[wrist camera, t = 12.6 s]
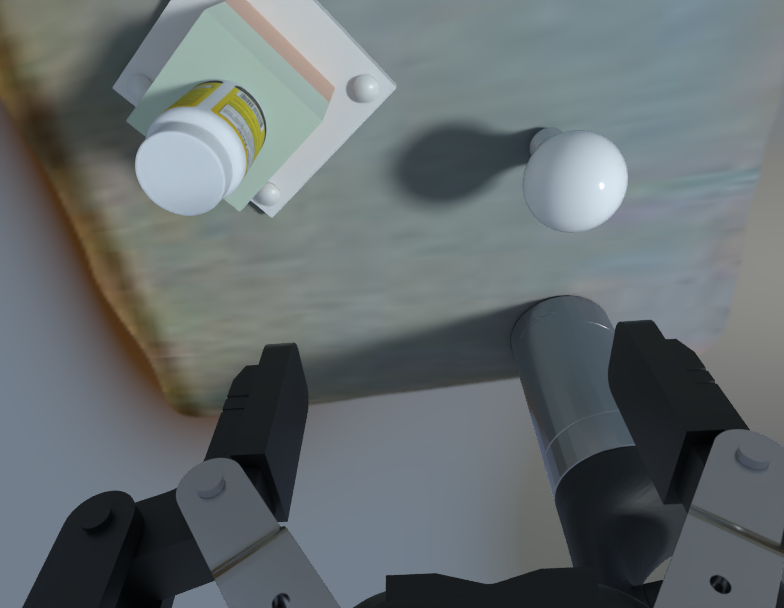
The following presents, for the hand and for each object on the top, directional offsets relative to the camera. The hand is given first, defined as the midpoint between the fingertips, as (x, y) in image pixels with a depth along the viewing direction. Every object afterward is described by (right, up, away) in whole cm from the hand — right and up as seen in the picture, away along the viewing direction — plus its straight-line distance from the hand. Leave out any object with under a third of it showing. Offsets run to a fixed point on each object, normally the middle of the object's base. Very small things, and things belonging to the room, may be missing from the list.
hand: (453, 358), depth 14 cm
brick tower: (-11, +17, +25) cm, 32 cm away
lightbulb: (+10, +14, +27) cm, 32 cm away
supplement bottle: (-11, +12, +17) cm, 24 cm away
